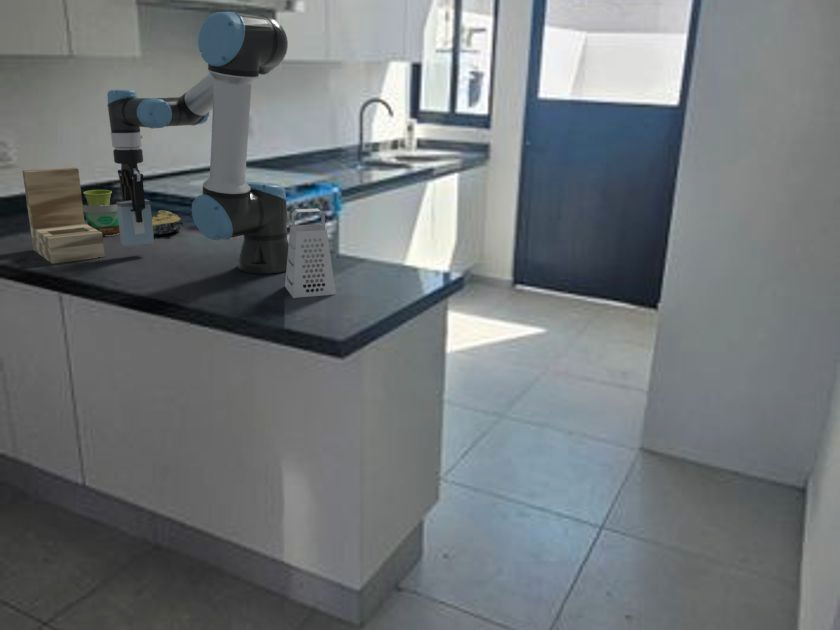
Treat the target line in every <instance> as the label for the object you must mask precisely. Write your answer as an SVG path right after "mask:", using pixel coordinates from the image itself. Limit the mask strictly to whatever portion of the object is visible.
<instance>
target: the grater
mask: <svg viewBox="0 0 840 630" xmlns="http://www.w3.org/2000/svg"><path fill="white" fill-rule="evenodd" d="M311 212H320V213H321V221H320V222H321V223H317V224H316V223H314V224H297V225H296V224H295V221H296V220H295V219H296V216H297V215H298V213H311ZM288 236H289V237H288V242H289V246H288V257H287V268H286V271H285V279H284V280H285V283H284V287H285V288H286V290H287V291H288V293H289V294H290V296H291V297H292V298H293V299H296V298H310V297H319V296H320V297H321V296H333V295H334V296H335V295H336V294H337V293H336V292H337V291H336V285H335V277H334V270H333V265H332V257H331V250H330V243H329V235H328V229H326V215H325V214H324V213H323V211H322V210H320V209H319V208H317V207H316V208H300V209H296V208H295V209H293V211H292V212H291V225H290V226H289V235H288ZM323 284H324V285H323ZM308 285H310V287H309V286H308ZM313 285H315V286H313ZM318 285H319V286H318ZM304 286H305V287H304ZM312 289H313V291H311V290H312ZM317 289H318V291H317ZM321 289H323V290H321ZM307 290H309V291H307Z"/></svg>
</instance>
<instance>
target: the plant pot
mask: <svg viewBox="0 0 840 630" xmlns="http://www.w3.org/2000/svg"><path fill="white" fill-rule="evenodd" d="M112 193H113V192H112V190H110V189H109V190H108V189H92V190H91V189H90V190H86V191H83V195H84V197H85V198H86V203H87V206H98V205H111V198H112V197H111V195H112Z"/></svg>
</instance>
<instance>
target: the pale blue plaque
mask: <svg viewBox="0 0 840 630" xmlns="http://www.w3.org/2000/svg"><path fill="white" fill-rule="evenodd" d="M115 204H117V212H118V221H119V229H120V234H119V237H120V244H121V245H123V246H125V247H130V246H139V245H145V244H148V245H149V244H154V243H155V238H154V237H155V235H153V226H152V217H153V216H152V208H151V200H149V199H146V198H145V209H143V210H142V211H143V221H144V230H145V233H143V234H134V227H133V218H132V212H131V209H133V206H132V201H131V200H129V201H122V200H120V201H116V203H115Z"/></svg>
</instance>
